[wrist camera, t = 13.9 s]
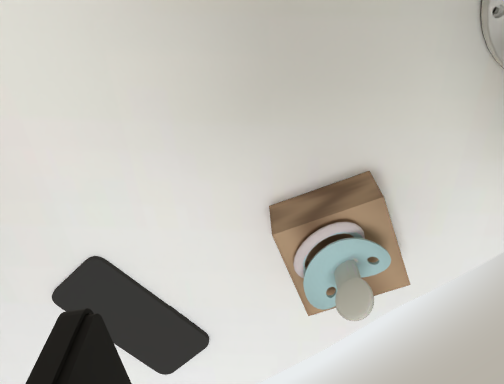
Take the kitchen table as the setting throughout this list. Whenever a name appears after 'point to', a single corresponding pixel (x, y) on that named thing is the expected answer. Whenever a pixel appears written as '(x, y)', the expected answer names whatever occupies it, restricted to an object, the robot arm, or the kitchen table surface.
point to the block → (332, 211)
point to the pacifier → (341, 270)
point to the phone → (132, 315)
